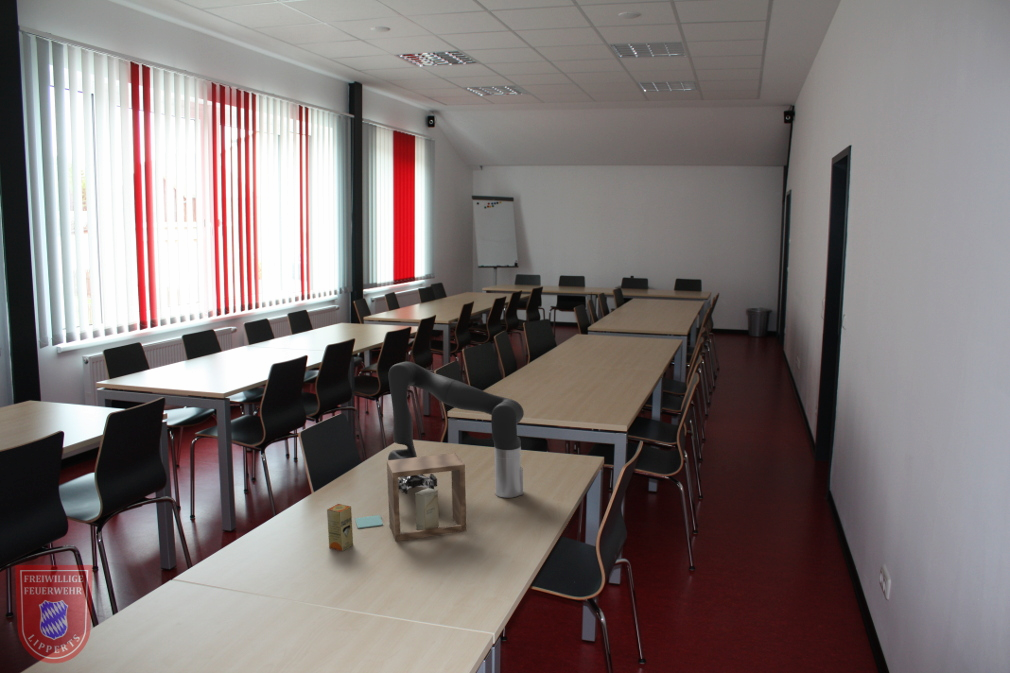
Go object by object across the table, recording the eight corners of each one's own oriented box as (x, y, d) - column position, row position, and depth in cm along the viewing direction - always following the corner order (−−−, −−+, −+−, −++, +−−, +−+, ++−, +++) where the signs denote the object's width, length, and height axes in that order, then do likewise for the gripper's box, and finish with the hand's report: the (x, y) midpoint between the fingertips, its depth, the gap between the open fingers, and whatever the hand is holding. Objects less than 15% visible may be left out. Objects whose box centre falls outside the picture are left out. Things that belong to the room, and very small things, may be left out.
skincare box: (425, 533, 224) (424, 496, 222) (415, 530, 227) (414, 493, 225) (439, 526, 229) (438, 490, 227) (429, 523, 232) (428, 487, 230)
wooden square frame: (457, 516, 237) (455, 452, 234) (466, 531, 226) (464, 464, 222) (389, 525, 230) (386, 460, 227) (395, 541, 219) (392, 472, 216)
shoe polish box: (329, 547, 215) (327, 509, 214) (340, 541, 220) (338, 503, 218) (342, 551, 213) (340, 512, 211) (353, 544, 217) (351, 506, 216)
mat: (379, 516, 238) (379, 514, 238) (383, 525, 231) (383, 524, 231) (355, 519, 236) (355, 518, 236) (357, 528, 229) (357, 527, 228)
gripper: (389, 465, 250) (397, 481, 235) (430, 461, 254) (440, 476, 239) (390, 486, 251) (397, 503, 236) (430, 481, 255) (440, 498, 240)
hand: (419, 489), depth 237 cm, fingers open, 8 cm apart
